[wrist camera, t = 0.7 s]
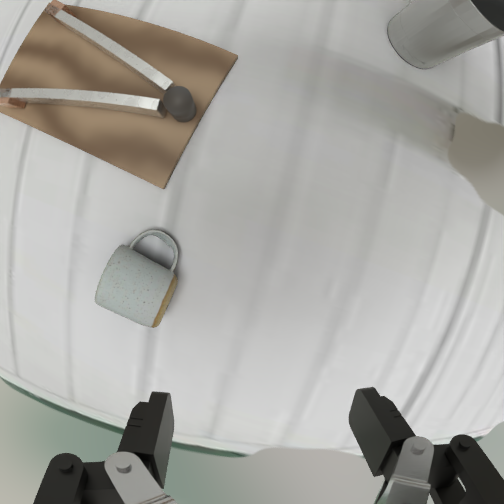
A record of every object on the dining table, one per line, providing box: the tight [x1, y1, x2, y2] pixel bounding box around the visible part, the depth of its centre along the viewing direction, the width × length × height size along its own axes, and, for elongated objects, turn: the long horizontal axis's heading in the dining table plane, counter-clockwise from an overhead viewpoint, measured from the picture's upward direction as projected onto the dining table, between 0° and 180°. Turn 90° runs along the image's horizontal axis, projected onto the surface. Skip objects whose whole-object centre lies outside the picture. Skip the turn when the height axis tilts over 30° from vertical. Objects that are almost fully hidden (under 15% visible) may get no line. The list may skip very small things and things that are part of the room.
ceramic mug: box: [95, 230, 178, 328], centre depth 33 cm, size 10×8×7 cm
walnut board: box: [0, 3, 238, 189], centre depth 27 cm, size 18×32×6 cm, turn 62°
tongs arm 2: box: [0, 88, 167, 118], centre depth 28 cm, size 24×2×4 cm, turn 75°
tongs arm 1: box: [44, 0, 175, 95], centre depth 27 cm, size 24×2×4 cm, turn 49°
